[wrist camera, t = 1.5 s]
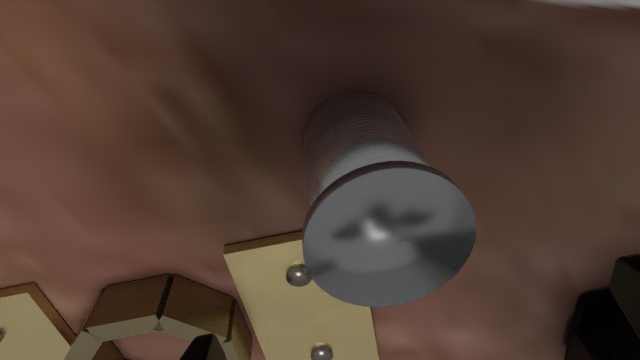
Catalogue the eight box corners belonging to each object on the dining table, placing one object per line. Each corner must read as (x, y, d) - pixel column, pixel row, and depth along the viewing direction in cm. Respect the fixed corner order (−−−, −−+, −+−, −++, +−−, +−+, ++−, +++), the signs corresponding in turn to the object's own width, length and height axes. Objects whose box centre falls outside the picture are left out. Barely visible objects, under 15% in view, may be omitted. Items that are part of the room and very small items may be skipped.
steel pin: (406, 71, 15) (478, 153, 10) (413, 176, 17) (474, 290, 12) (284, 97, 15) (284, 191, 10) (308, 197, 18) (320, 319, 12)
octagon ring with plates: (354, 220, 18) (363, 257, 16) (377, 355, 24) (387, 396, 22) (-91, 306, 19) (-135, 352, 17) (28, 420, 24) (5, 465, 22)
